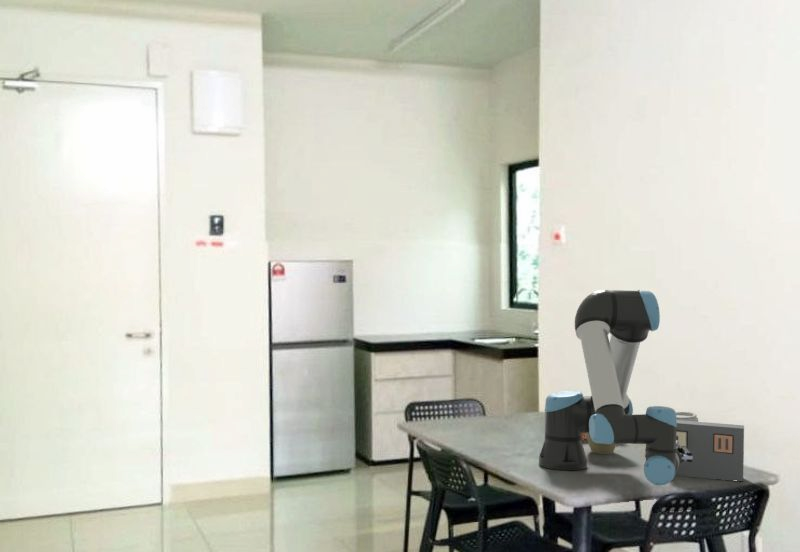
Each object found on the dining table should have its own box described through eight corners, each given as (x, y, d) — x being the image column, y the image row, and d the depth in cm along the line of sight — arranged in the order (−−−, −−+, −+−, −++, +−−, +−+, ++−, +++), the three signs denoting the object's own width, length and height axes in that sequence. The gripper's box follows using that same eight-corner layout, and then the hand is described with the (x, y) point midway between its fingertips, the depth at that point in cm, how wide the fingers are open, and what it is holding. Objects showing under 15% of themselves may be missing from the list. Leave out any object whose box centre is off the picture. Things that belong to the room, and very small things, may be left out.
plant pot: (587, 445, 296) (588, 401, 296) (628, 450, 289) (629, 405, 289) (574, 453, 283) (574, 406, 283) (617, 458, 276) (618, 410, 276)
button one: (685, 450, 249) (685, 433, 249) (668, 448, 251) (668, 432, 251) (686, 448, 252) (686, 432, 252) (669, 446, 254) (669, 430, 254)
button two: (732, 453, 246) (732, 436, 246) (714, 451, 248) (714, 434, 248) (732, 451, 249) (732, 434, 249) (714, 449, 251) (715, 433, 251)
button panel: (742, 482, 246) (743, 428, 246) (658, 473, 256) (659, 421, 256) (743, 478, 251) (744, 425, 251) (661, 469, 261) (661, 418, 261)
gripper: (640, 471, 226) (652, 455, 248) (690, 477, 221) (698, 459, 242) (640, 444, 226) (652, 430, 248) (690, 449, 221) (698, 434, 242)
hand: (674, 444), depth 245 cm, fingers closed
